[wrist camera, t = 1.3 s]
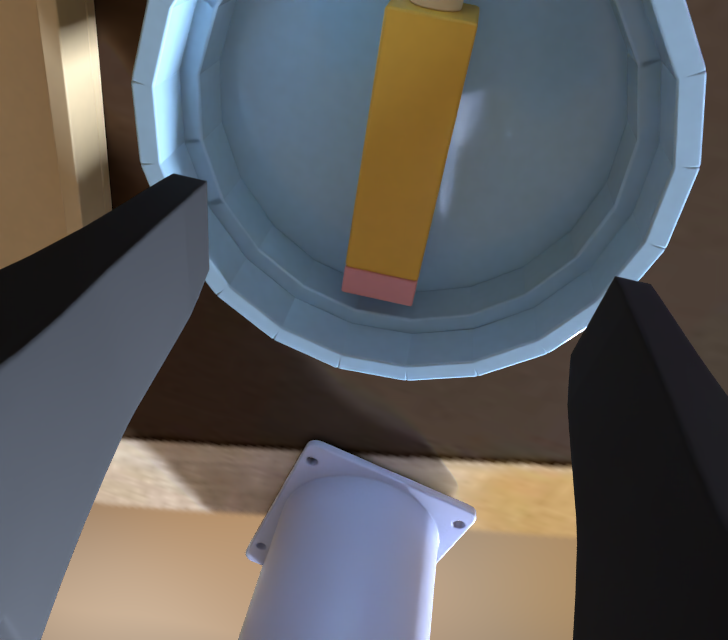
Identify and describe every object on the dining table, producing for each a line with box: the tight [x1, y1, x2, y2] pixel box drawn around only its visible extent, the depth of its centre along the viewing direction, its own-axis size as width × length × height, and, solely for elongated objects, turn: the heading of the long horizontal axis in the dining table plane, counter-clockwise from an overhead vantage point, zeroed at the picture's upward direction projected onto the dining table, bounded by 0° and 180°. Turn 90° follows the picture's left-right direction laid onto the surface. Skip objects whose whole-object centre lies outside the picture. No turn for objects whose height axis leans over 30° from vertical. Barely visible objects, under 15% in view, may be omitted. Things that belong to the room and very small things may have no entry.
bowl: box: [131, 0, 707, 380], centre depth 18 cm, size 14×14×4 cm
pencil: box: [341, 0, 480, 306], centre depth 18 cm, size 10×2×2 cm, turn 171°
